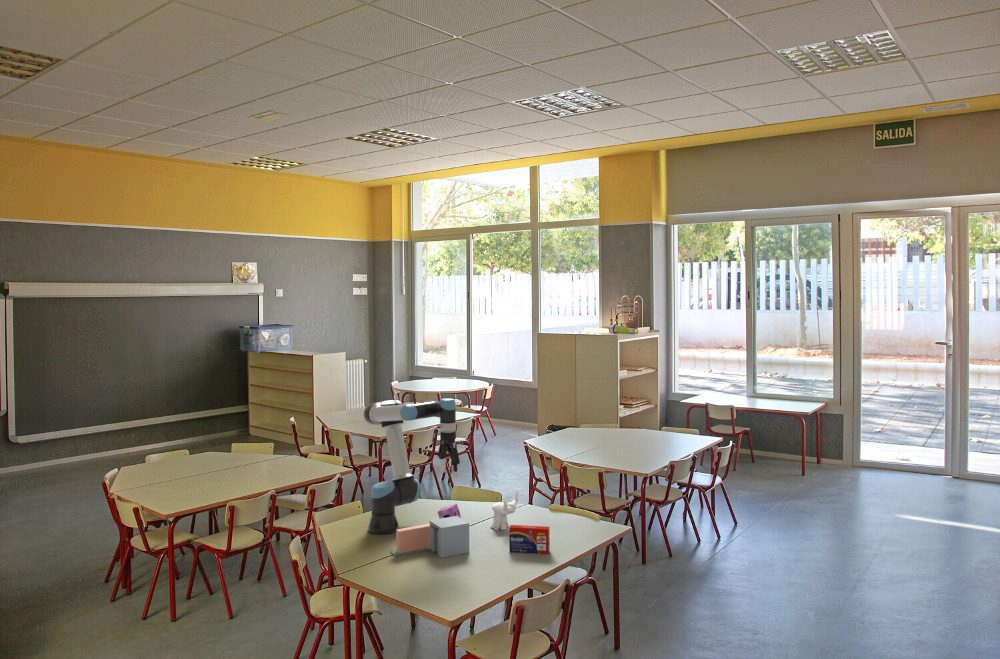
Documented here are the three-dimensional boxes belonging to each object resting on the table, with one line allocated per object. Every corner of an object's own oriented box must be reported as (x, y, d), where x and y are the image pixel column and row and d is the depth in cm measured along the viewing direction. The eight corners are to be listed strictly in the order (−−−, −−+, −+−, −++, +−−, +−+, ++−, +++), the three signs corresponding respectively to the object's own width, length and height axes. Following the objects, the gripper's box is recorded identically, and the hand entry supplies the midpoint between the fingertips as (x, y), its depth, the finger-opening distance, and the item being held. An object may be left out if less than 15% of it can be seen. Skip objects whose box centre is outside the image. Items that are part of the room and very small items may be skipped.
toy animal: (508, 535, 359) (509, 501, 358) (485, 532, 363) (486, 498, 362) (520, 523, 377) (522, 491, 376) (498, 520, 381) (499, 488, 380)
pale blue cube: (428, 549, 339) (428, 520, 338) (457, 543, 346) (456, 515, 345) (439, 558, 327) (439, 528, 327) (469, 552, 334) (469, 523, 334)
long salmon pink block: (396, 551, 336) (396, 529, 335) (428, 544, 343) (428, 523, 343) (399, 553, 332) (399, 531, 332) (431, 546, 340) (431, 525, 340)
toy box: (549, 551, 334) (549, 526, 334) (548, 554, 330) (548, 529, 330) (510, 549, 338) (510, 524, 337) (509, 552, 334) (509, 527, 333)
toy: (461, 538, 351) (451, 508, 352) (446, 542, 353) (436, 512, 354) (466, 531, 362) (457, 502, 363) (452, 536, 363) (442, 507, 364)
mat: (390, 552, 336) (390, 551, 336) (424, 545, 344) (424, 544, 344) (394, 556, 330) (394, 554, 330) (429, 549, 339) (429, 548, 338)
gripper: (430, 427, 358) (431, 470, 359) (451, 436, 336) (452, 481, 337) (444, 426, 362) (445, 468, 362) (466, 434, 340) (467, 479, 341)
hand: (448, 475), depth 350 cm, fingers open, 13 cm apart
